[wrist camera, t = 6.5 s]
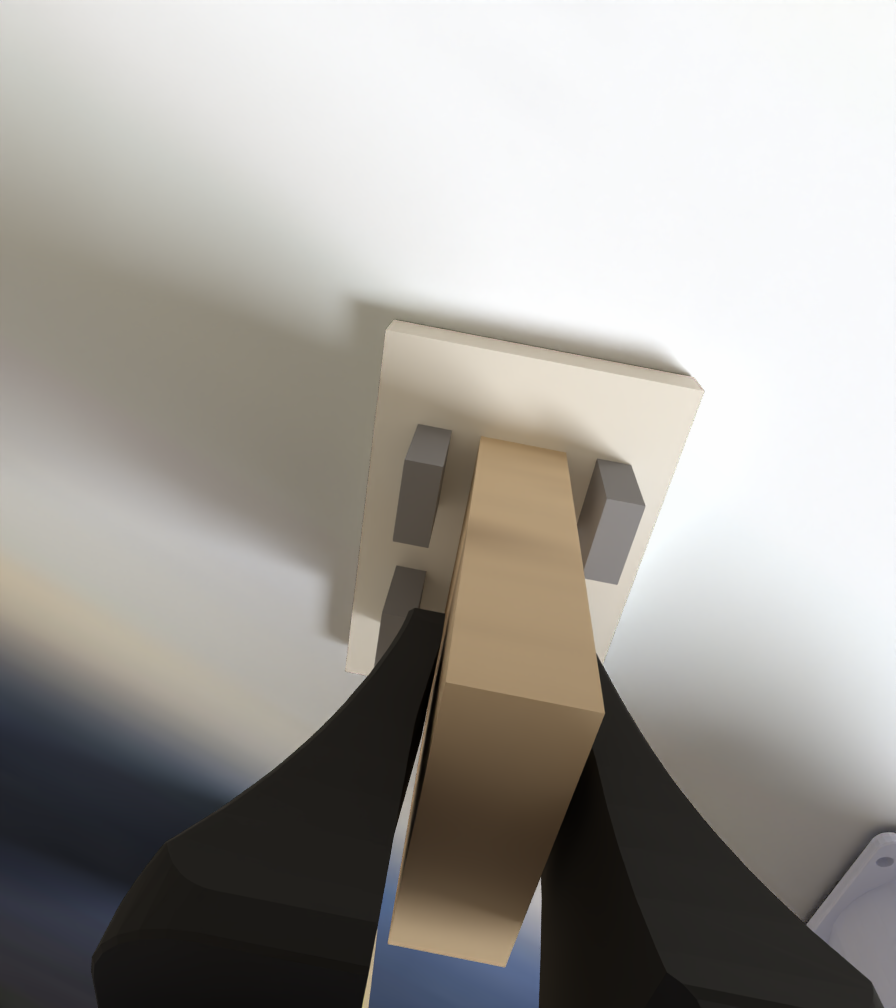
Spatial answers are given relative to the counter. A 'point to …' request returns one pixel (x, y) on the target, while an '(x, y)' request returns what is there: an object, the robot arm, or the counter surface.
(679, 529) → the counter surface
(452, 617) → the wooden block
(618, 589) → the cream pegged base plate
